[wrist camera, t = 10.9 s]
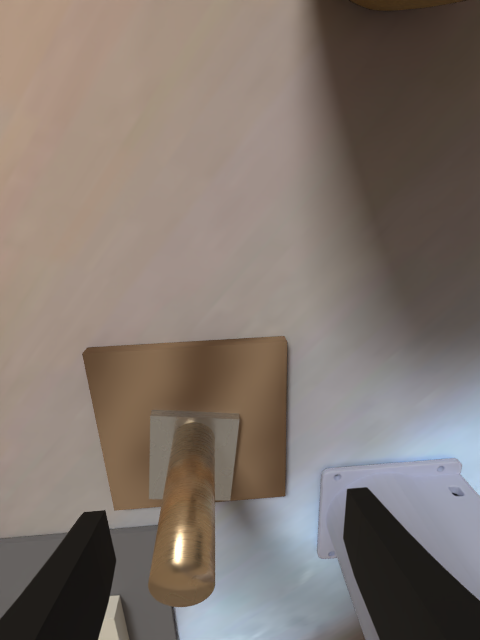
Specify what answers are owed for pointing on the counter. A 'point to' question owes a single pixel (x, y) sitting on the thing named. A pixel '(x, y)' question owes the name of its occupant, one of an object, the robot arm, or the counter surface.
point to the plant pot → (401, 4)
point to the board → (191, 407)
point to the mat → (129, 582)
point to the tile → (114, 621)
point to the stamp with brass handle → (188, 499)
